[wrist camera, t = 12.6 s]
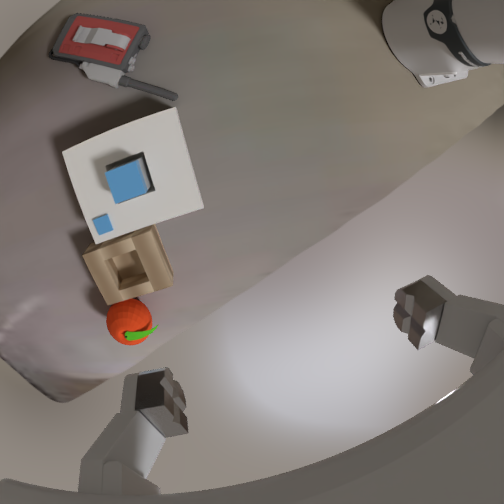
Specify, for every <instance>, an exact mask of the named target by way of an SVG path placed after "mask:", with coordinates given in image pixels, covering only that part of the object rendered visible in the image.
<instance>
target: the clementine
mask: <svg viewBox="0 0 504 504" xmlns="http://www.w3.org/2000/svg"><path fill="white" fill-rule="evenodd" d="M106 323H107V327H108V330H109V332H110V334H111V335H112V337H113V338H114V339H115V340H117V341H118V342H120V343H122V344H125V345H136V344H139V343H141V342H143V341H144V340H145V339H146V338H147V337H148V335H149V334H151V333H152V332H153V331H154V330H155V329H156V328H157V326H158V325H157V326H156V327H155V328H153V329H151V328H152V317H151V314H150V312H149V310H148V308H147V307H146V306H145V305H144V304H143V303H142V302H140V301H138V300H137V299H133V298H131V299H128V300H124V301H121V302H118V303H114V304H113V305H112V306H111V307H110V309H109V311H108V313H107V320H106Z"/></svg>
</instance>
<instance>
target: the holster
mask: <svg viewBox="0 0 504 504" xmlns="http://www.w3.org/2000/svg"><path fill="white" fill-rule="evenodd" d="M82 256H83V258H84V260H85V262H86V264H87V267H88V269H89V271H90V273H91V275H92V277H93V279H94V281H95V283H96V284H97V286H98V288H99V290H100V292H101V294H102V296H103V298H104V299H105V301H106V303H107V305H111V304H114V303H118V302H121V301H124V300H128V299H131V298H134V297H138V296H141V295H144V294H148V293H151V292H154V291H158V290H161V289H164V288H168V287H171V286H173V269H172V267H171V264H170V262H169V259H168V257H167V254H166V252H165V249H164V246H163V244H162V241H161V239H160V236H159V233H158V231H157V228H156V225H155V224H153V225H150V226H147V227H144V228H141V229H138V230H135V231H132V232H129V233H126V234H124V235H121V236H118V237H115V238H112V239H110V240H107V241H104V242H101V243H99V244H95V242H93V243H91V244H90V245H89V246H88V248H87V249H86V251H85V252H84V254H83V255H82Z"/></svg>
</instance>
